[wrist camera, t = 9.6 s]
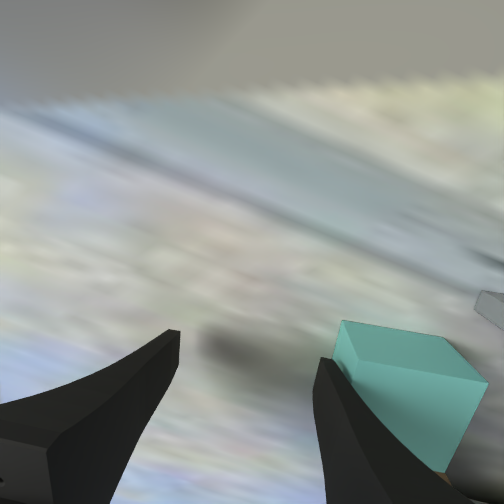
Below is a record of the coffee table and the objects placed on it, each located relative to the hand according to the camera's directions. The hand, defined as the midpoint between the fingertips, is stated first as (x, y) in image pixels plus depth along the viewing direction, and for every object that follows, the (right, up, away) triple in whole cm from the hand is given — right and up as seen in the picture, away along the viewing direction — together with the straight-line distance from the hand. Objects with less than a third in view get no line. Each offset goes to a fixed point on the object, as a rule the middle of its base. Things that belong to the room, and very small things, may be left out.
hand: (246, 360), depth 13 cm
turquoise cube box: (+7, -1, +1) cm, 7 cm away
